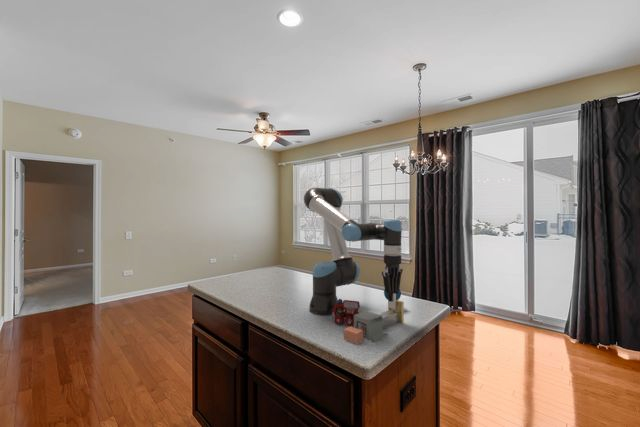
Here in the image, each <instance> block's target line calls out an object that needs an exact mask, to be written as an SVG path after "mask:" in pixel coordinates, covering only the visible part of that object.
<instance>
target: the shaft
mask: <svg viewBox="0 0 640 427" xmlns="http://www.w3.org/2000/svg"><path fill="white" fill-rule="evenodd" d="M404 305H405V303H404V301H403V300H400V299H399V300H396V308H395V309H392V308H389V300H387V308H388V309H387V310H386V311H384V312H380V313H379V314H378V313H377V314H378V315H381V316H382V330H384V329H386V328H389V327H391V326H393V325H395V324H398V323H400V324H403V323H404V322H405V321H404V320H405V318H404V317H405V316H404V315H405V313H404V312H405V310H404V309H405V306H404ZM358 329H360V330H363V337H365V338H366V324H364V323H361V322H358Z"/></svg>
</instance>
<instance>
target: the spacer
mask: <svg viewBox="0 0 640 427" xmlns="http://www.w3.org/2000/svg"><path fill="white" fill-rule="evenodd" d="M343 339H344V340H345V339H346V340H345V341H347V340H348V341H347V342H350V341H351V342H350V343H352V342H354V343H353V344H355V343H356V344H355V345H358V344H360V343H362V342H363V341H364V336H363V330H360V329H357V328H354V326H352V327H351V326H350V327H349V326H347V327H346V328H344V329H343ZM361 341H362V342H361ZM359 342H360V343H359ZM357 343H358V344H357Z"/></svg>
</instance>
